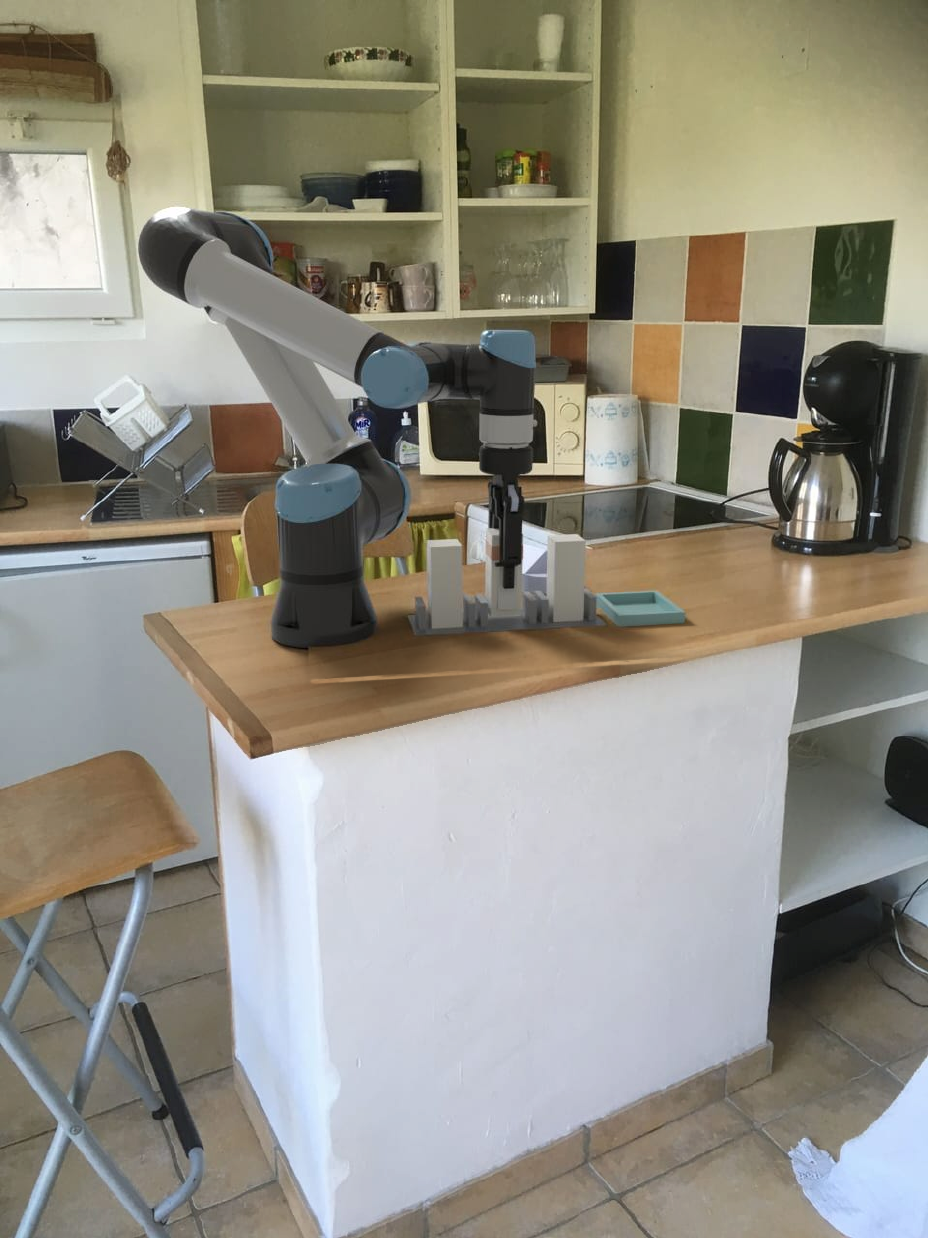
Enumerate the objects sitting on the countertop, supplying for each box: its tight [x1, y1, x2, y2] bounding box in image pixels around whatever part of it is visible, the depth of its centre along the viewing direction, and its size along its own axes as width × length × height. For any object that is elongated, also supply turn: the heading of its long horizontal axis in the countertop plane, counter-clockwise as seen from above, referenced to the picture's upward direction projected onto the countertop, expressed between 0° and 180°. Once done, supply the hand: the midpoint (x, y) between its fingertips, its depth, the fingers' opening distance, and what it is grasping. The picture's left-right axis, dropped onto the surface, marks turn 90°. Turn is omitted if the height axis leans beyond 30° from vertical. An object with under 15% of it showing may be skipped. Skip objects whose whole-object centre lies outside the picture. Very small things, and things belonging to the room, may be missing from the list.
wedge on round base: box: [522, 542, 547, 595], centre depth 169 cm, size 9×7×13 cm
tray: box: [594, 590, 686, 628], centre depth 153 cm, size 10×12×2 cm
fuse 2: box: [545, 533, 587, 622], centre depth 150 cm, size 4×4×12 cm
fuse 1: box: [426, 538, 464, 629], centre depth 147 cm, size 4×4×12 cm
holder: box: [407, 587, 607, 637], centre depth 150 cm, size 28×10×4 cm, turn 99°
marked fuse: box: [484, 528, 524, 616], centre depth 148 cm, size 5×5×12 cm
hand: (502, 603), depth 150 cm, fingers closed on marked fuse, 4 cm apart
